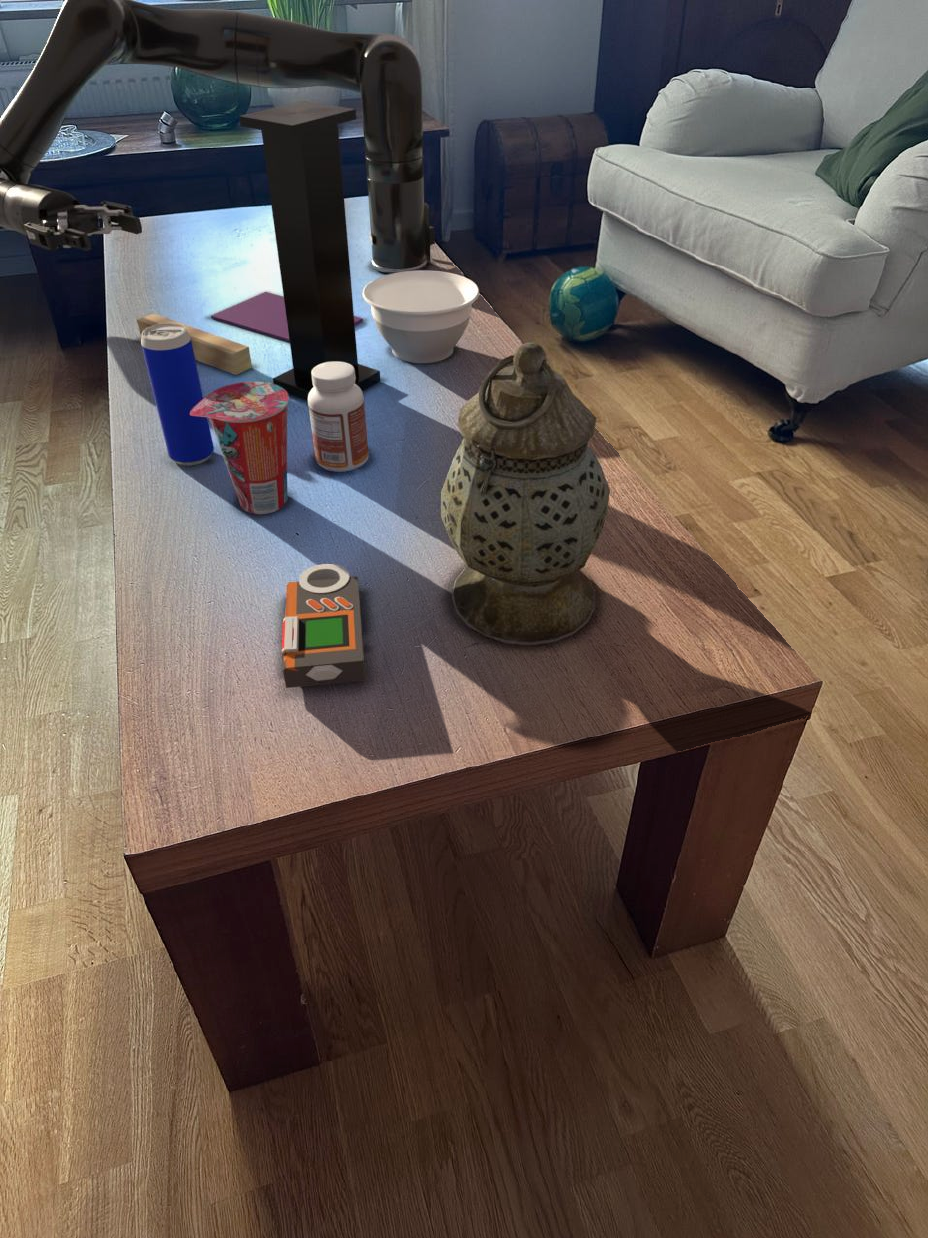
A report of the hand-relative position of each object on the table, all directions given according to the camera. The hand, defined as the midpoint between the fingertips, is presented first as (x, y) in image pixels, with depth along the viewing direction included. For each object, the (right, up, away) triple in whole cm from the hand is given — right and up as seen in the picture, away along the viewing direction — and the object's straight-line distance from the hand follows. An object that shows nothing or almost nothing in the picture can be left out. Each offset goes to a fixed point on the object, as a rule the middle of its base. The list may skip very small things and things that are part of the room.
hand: (114, 233), depth 122 cm
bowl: (+43, -15, +4) cm, 45 cm away
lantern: (+54, -52, -39) cm, 84 cm away
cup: (+26, -41, -26) cm, 55 cm away
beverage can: (+17, -34, -19) cm, 42 cm away
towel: (+21, -8, +12) cm, 26 cm away
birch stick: (+10, -16, +3) cm, 19 cm away
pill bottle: (+34, -35, -19) cm, 53 cm away
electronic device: (+36, -55, -43) cm, 78 cm away
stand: (+30, -22, -5) cm, 38 cm away
